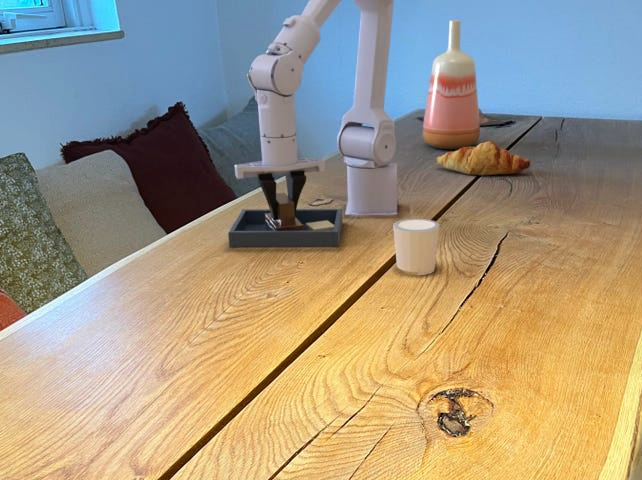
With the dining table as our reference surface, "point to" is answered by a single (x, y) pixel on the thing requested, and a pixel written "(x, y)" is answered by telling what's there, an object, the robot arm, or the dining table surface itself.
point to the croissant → (483, 160)
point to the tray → (255, 235)
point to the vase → (452, 98)
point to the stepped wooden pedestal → (283, 216)
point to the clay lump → (320, 226)
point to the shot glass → (416, 245)
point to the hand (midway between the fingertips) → (283, 217)
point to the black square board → (484, 119)
